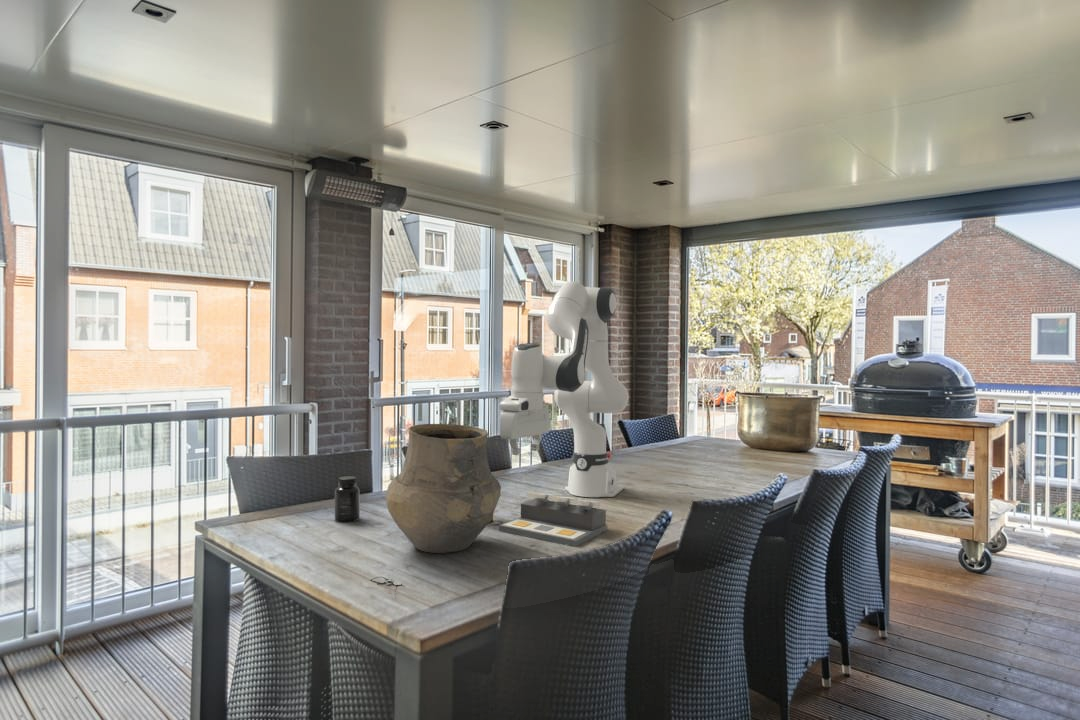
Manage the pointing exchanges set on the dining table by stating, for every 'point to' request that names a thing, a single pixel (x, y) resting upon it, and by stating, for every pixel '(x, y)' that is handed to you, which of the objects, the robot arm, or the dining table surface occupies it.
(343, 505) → the supplement bottle
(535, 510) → the switch unit
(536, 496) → the switch
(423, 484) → the ceramic pot
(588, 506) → the switch
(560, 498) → the switch
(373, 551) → the dining table surface
